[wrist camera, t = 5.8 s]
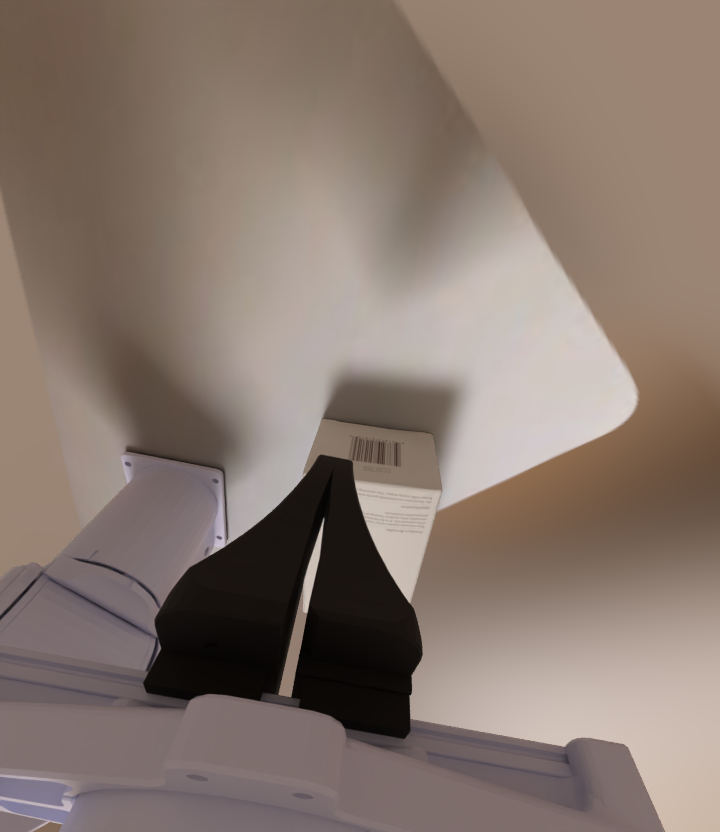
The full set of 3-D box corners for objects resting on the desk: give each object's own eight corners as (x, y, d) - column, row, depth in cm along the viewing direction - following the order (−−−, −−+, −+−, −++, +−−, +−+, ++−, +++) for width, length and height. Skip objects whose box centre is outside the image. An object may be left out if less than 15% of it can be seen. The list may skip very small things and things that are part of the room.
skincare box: (321, 415, 23) (313, 547, 31) (299, 474, 18) (297, 614, 26) (440, 432, 23) (402, 561, 31) (453, 497, 18) (403, 630, 26)
